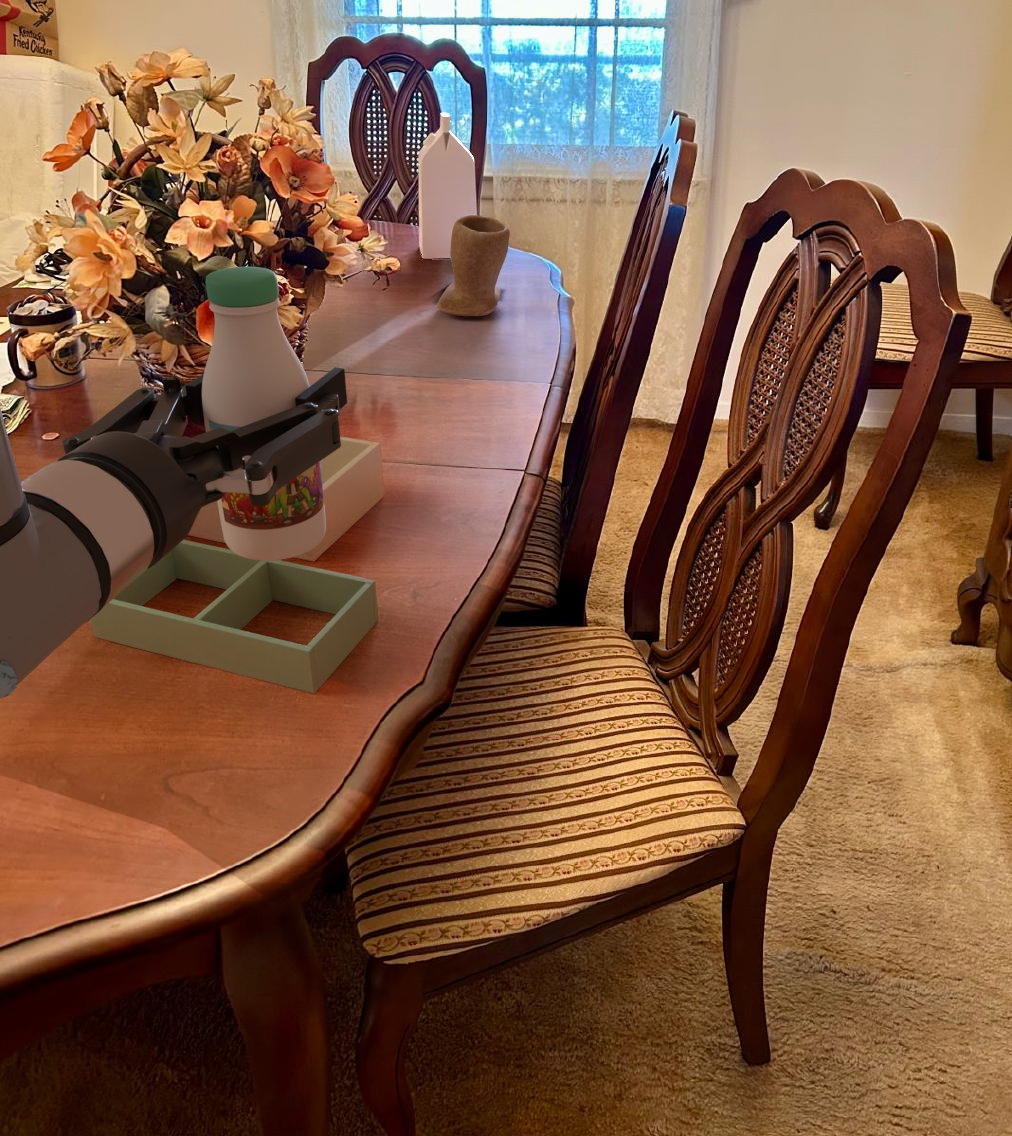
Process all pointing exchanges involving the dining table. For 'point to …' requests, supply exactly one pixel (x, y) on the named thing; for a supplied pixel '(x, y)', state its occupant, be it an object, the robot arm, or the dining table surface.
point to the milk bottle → (258, 411)
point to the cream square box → (327, 494)
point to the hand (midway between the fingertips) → (289, 379)
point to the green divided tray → (243, 615)
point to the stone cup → (475, 266)
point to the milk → (443, 189)
